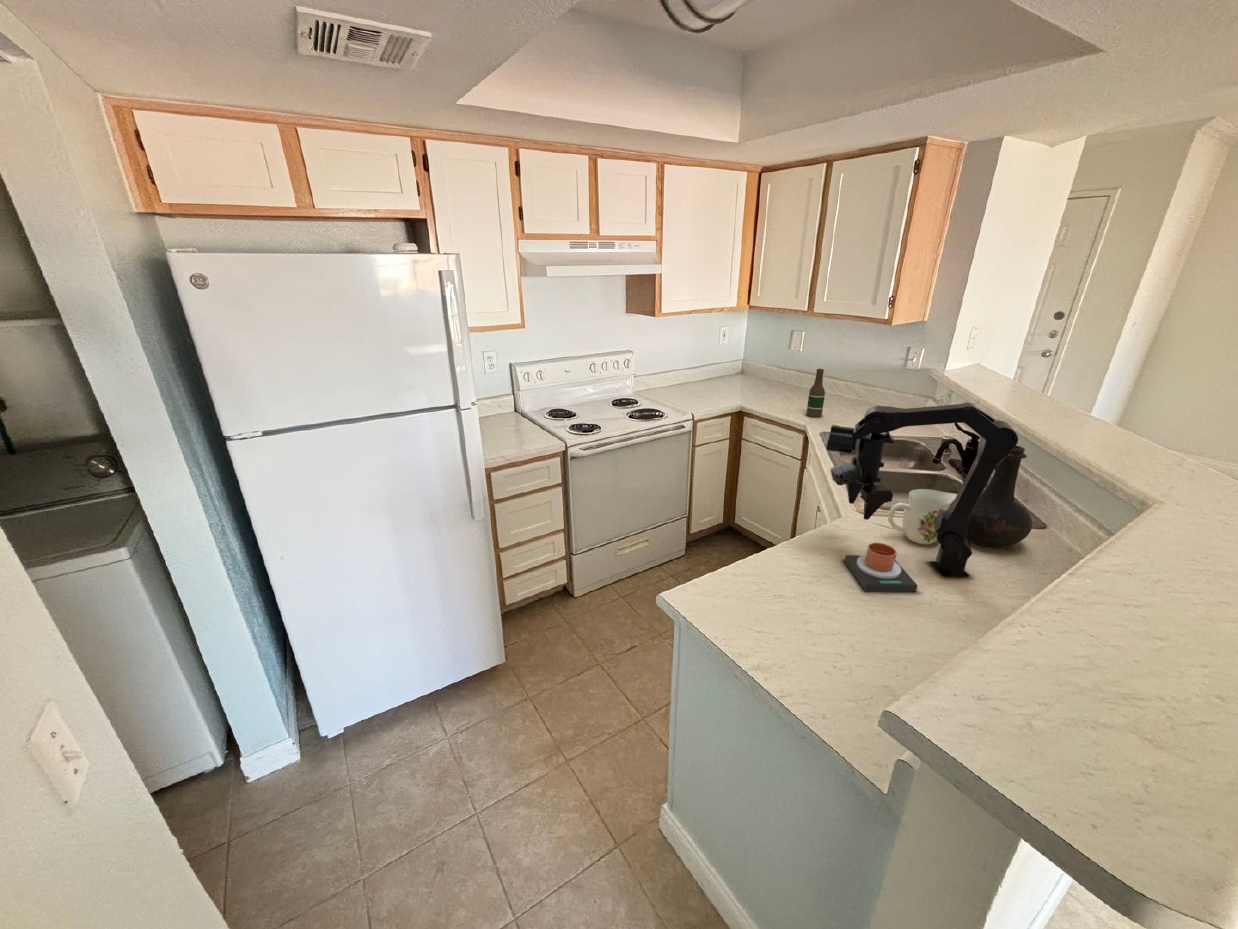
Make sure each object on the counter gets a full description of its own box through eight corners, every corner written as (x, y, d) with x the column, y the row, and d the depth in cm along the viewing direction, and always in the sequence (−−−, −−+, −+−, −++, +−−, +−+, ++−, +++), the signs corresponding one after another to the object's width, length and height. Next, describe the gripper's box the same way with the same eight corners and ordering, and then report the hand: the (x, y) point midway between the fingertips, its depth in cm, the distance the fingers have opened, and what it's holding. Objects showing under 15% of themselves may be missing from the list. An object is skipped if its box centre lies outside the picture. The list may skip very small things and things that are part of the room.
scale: (915, 592, 120) (918, 582, 119) (864, 591, 120) (866, 581, 119) (890, 562, 132) (892, 553, 131) (844, 561, 132) (845, 552, 131)
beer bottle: (819, 418, 253) (826, 371, 244) (803, 416, 258) (809, 369, 249) (823, 415, 259) (830, 368, 250) (808, 412, 264) (814, 367, 255)
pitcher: (876, 528, 149) (884, 486, 143) (939, 529, 147) (950, 487, 142) (892, 547, 138) (902, 503, 133) (960, 549, 137) (972, 504, 132)
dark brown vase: (933, 531, 146) (956, 441, 136) (973, 519, 153) (998, 432, 143) (997, 562, 131) (1029, 463, 121) (1038, 547, 138) (1071, 451, 128)
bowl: (897, 572, 123) (901, 556, 121) (871, 572, 123) (874, 556, 121) (885, 558, 129) (889, 542, 127) (860, 557, 129) (863, 542, 127)
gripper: (824, 443, 136) (815, 495, 142) (852, 470, 119) (841, 528, 125) (865, 443, 136) (855, 495, 142) (899, 470, 119) (886, 528, 124)
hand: (858, 511), depth 133 cm, fingers open, 9 cm apart
